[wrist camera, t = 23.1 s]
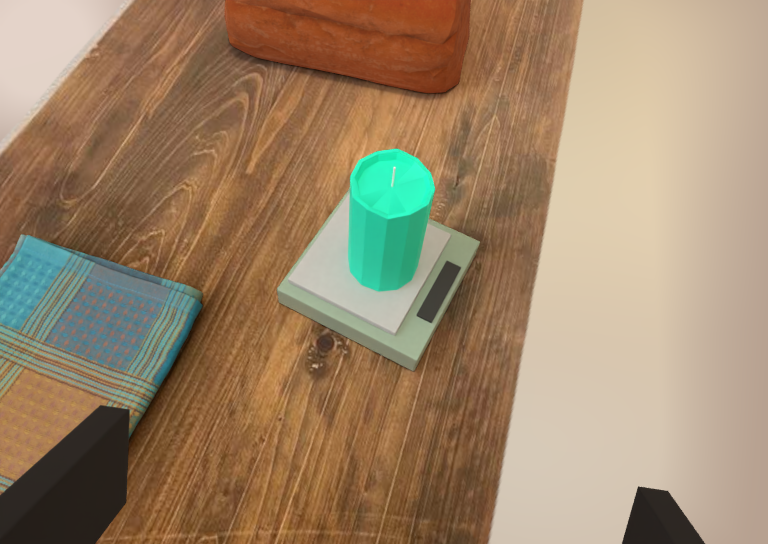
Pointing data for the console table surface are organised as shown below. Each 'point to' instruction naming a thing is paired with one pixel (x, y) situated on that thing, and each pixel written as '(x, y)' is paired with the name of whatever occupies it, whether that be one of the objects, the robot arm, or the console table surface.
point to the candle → (388, 218)
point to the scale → (372, 308)
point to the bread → (358, 37)
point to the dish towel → (79, 344)
